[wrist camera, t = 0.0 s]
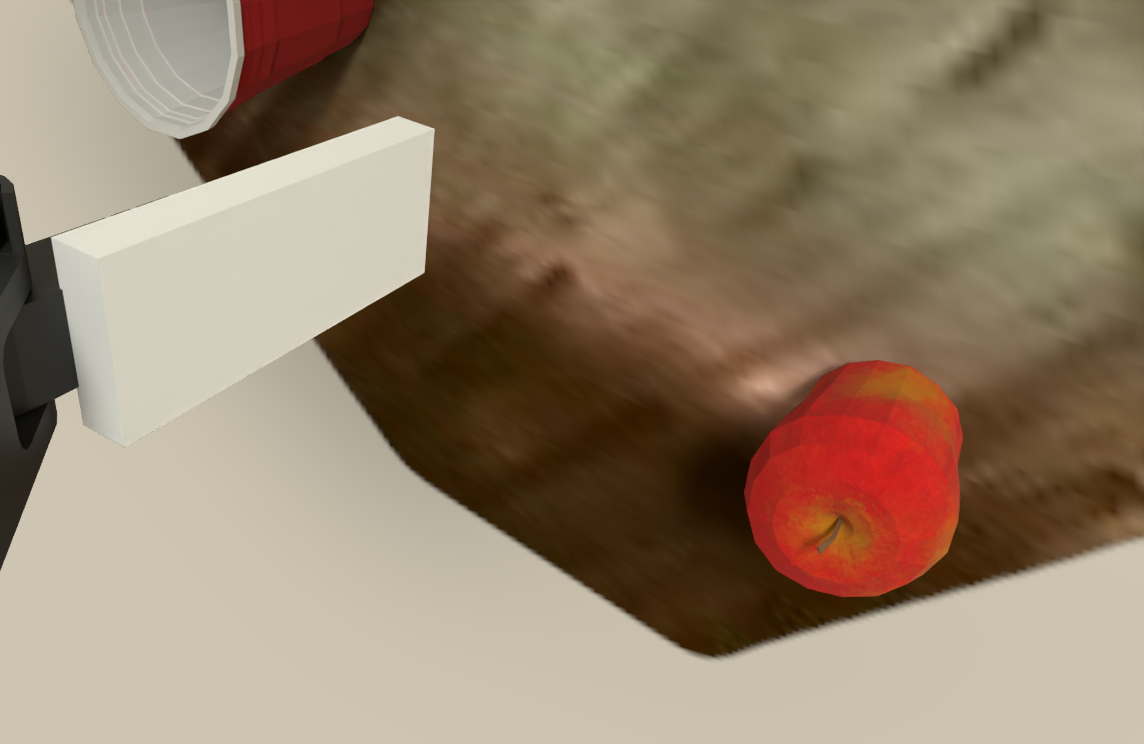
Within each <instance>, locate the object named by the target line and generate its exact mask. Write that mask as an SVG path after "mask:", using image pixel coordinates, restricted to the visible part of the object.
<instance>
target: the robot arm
mask: <svg viewBox="0 0 1144 744" xmlns="http://www.w3.org/2000/svg"><path fill="white" fill-rule="evenodd" d="M434 130H435V129H433V128H430V127H428V126H425V125H422V124H419V123H416V122H413V121H410V120H407V119H404V118H401V117H398V116H397V117H394V118H391V119H389V120H386V121H383V122H380V123H377V124H374V125H371V126H369V127H366V128H363V129H360V130H357V131H354V132H351V133H348V134H346V135H343V136H340V137H337V138H334V139H331V140H328V141H326V142H323V143H320V144H317V145H314V146H311V147H308V148H305V149H303V150H300V151H297V152H294V153H291V154H288V155H285V156H282V157H280V158H277V159H274V160H271V161H268V162H265V163H262V164H260V165H257V166H254V167H251V168H248V169H245V170H242V171H239V172H237V173H234V174H231V175H228V176H225V177H222V178H219V179H217V180H214V181H211V182H208V183H205V184H202V185H199V186H196V187H194V188H191V189H188V190H185V191H182V192H179V193H176V194H173V195H171V196H166V197H163V198H160V199H157V200H155V201H152V202H149V203H146V204H143V205H140V206H137V207H136V208H133V209H129V210H126V211H123V212H120V213H117V214H114V215H112V216H110V217H108V218H103V219H100V220H97V221H94V222H91V223H89V224H85V225H83V226H80V227H77V228H74V229H71V230H68V231H65V232H62V233H60V234H57V235H54V236H51V237H48V238H45V239H42V240H39V241H37V242H34V243H31V244H28V245H25V243H24V237H23V232H22V227H21V222H20V217H19V211H18V207H17V201H16V196H15V191H14V185H13V184H12V183H11V182H10V181H9V180H8V179H7V178H6V177H5V176H2V175H0V569H1V567H2V565H3V562H4V559H5V557H6V554H7V552H8V549H9V547H10V544H11V541H12V539H13V536H14V534H15V531H16V528H17V526H18V523H19V521H20V518H21V515H22V513H23V510H24V508H25V505H26V502H27V500H28V497H29V495H30V492H31V489H32V487H33V484H34V482H35V479H36V476H37V474H38V471H39V469H40V466H41V463H42V460H43V458H44V456H45V453H46V450H47V448H48V445H49V443H50V440H51V437H52V435H53V432H54V430H55V427H56V424H57V410H56V405H55V400H54V399H56V398H57V397H59V396H61V395H63V394H65V393H67V392H69V391H71V390H73V389H75V388H77V390H78V396H79V402H80V408H81V413H82V419H83V425H84V426H86V427H88V428H90V429H92V430H93V431H95V432H97V433H99V434H101V435H103V436H105V437H106V438H108V439H110V440H112V441H114V442H115V443H117V444H119V445H121V446H123V447H124V448H125V447H127V446H129V445H131V444H132V443H134V442H136V441H137V440H139V439H141V438H143V437H144V436H146V435H148V434H149V433H151V432H153V431H154V430H156V429H158V428H160V427H161V426H163V425H164V424H166V423H168V422H170V421H171V420H173V419H175V418H177V417H178V416H180V415H182V414H184V413H185V412H187V411H189V410H190V409H192V408H194V407H195V406H197V405H199V404H201V403H202V402H204V401H206V400H207V399H209V398H211V397H212V396H214V395H216V394H218V393H219V392H221V391H223V390H224V389H226V388H228V387H230V386H231V385H233V384H235V383H236V382H238V381H240V380H242V379H243V378H245V377H247V376H248V375H250V374H252V373H253V372H255V371H257V370H258V369H260V368H262V367H264V366H265V365H267V364H269V363H271V362H272V361H274V360H276V359H277V358H279V357H281V356H282V355H284V354H286V353H288V352H289V351H291V350H293V349H294V348H296V347H298V346H300V345H301V344H303V343H305V342H307V341H308V340H310V339H312V338H313V337H315V336H317V335H318V334H320V333H322V332H324V331H325V330H327V329H329V328H330V327H332V326H334V325H336V324H337V323H339V322H341V321H342V320H344V319H346V318H348V317H349V316H351V315H353V314H354V313H356V312H358V311H359V310H361V309H363V308H365V307H366V306H368V305H370V304H371V303H373V302H375V301H377V300H378V299H380V298H382V297H383V296H385V295H387V294H389V293H390V292H392V291H394V290H395V289H397V288H399V287H400V286H402V285H404V284H406V283H407V282H409V281H411V280H412V279H414V278H416V277H418V276H419V275H421V274H423V273H424V270H425V256H426V242H427V228H428V214H429V200H430V186H431V172H432V158H433V144H434Z"/></svg>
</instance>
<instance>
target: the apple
mask: <svg viewBox="0 0 1144 744" xmlns="http://www.w3.org/2000/svg"><path fill="white" fill-rule="evenodd" d="M962 440H963V435H962V429H961V424H960V419H959V414H958V409H957V408H956V407H955V405H954V404H953V403H952V402H951V401H950V399H949V398H948V397H947V396H946V394H945V393H944V392H943V391H942V390H941V388H940V387H939V386H938V385H937V384H935V383H934V382H933V381H931V380H930V379H928V378H927V377H925V376H924V375H922V374H921V373H920V372H918V371H917V370H915V369H914V368H912V367H911V366H906V365H901V364H895V363H890V362H885V361H880V360H876V361H866V362H856V363H848V364H846V365H843V366H841V367H839V368H837V369H835V370H833V371H831V372H829V373H827V374H825V375H823V376H822V377H821V379H820V380H819V381H818V382H817V384H816V385H815V386H814V388H813V389H812V390H811V392H810V393H809V394H808V396H807V397H806V399H805V400H804V401H803V402H802V403H800V404H799V405H798V406H797V407H796V408H795V409H794V410H792V411H791V412H790V413H789V414H788V415H787V416H786V417H785V418H784V419H783V420H782V421H781V422H780V423H779V424H778V425H777V426H776V427H775V428H774V429H773V430H772V431H771V432H770V433H769V435H768V436H767V438H766V439H765V440H764V442H763V443H762V445H761V446H760V448H759V449H758V451H757V452H756V454H755V455H754V456H753V458H752V459H751V462H750V467H749V472H748V476H747V481H746V486H745V490H744V495H745V501H746V507H747V512H748V516H749V520H750V524H751V528H752V532H753V536H754V540H755V543H756V544H757V545H758V547H759V548H760V549H761V551H762V552H763V553H764V555H765V556H766V557H767V559H768V560H769V561H770V563H771V564H772V565H773V567H774V568H775V569H776V570H777V571H779V572H780V573H782V574H784V575H785V576H787V577H789V578H791V579H792V580H794V581H796V582H797V583H799V584H801V585H803V586H804V587H806V588H808V589H812V590H816V591H820V592H824V593H828V594H832V595H836V596H840V597H861V596H878V595H881V594H883V593H886V592H888V591H891V590H893V589H896V588H898V587H900V586H903V585H905V584H907V583H909V582H911V581H913V580H914V579H916V578H918V577H919V576H921V575H923V574H924V573H925V572H926V571H927V570H929V569H930V568H931V567H932V566H933V565H934V564H935V563H936V562H938V561H939V560H940V559H941V558H942V557H943V556H944V555H945V554H946V553H947V552H948V549H949V546H950V543H951V540H952V537H953V534H954V532H955V529H956V526H957V523H958V517H959V505H960V489H959V477H958V460H959V455H960V450H961V445H962Z"/></svg>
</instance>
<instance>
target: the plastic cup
mask: <svg viewBox="0 0 1144 744" xmlns="http://www.w3.org/2000/svg"><path fill="white" fill-rule="evenodd" d="M73 2H74V8H75V15H76V19H77V22H78V24H79V27H80V30H81V32H82V35H83V38H84V40H85V43H86V45H87V48H88V51H89V53H90V56H91V58H92V61H93V64H94V66H95V67H96V69H97V70H98V72H99V73H100V75H101V76H102V78H103V79H104V81H105V83H106V84H107V86H108V87H109V89H110V90H111V92H112V93H113V95H114V96H115V98H116V99H117V101H118V102H119V104H120V105H121V106H123V107H124V108H125V109H126V110H127V111H128V112H130V113H131V114H132V115H133V116H134V117H135V118H136V119H138V120H139V121H140V122H141V123H142V124H143V125H145V126H146V127H147V128H148V129H150V130H153V131H155V132H159V133H162V134H165V135H168V136H172V137H175V138H178V139H182V138H185V137H188V136H191V135H194V134H197V133H200V132H203V131H206V130H209V129H210V128H212V127H214V126H215V125H216V124H217V122H218V121H219V120H220V118H221V117H222V116H223V115H225V113H226V112H227V111H230V110H232V109H234V108H236V107H237V106H238V105H239V104H241V103H243V102H245V101H248V100H250V99H252V98H253V97H254V95H256V94H258V93H260V92H262V91H264V90H266V89H267V88H269V87H271V86H273V85H275V84H277V83H279V82H281V81H283V80H285V79H287V78H289V77H291V76H293V75H295V74H297V73H299V72H301V71H303V70H305V69H307V68H309V67H311V66H313V65H315V64H317V63H319V62H321V61H322V60H323V59H324V58H325V57H326V56H328V55H330V54H332V53H334V52H336V51H338V50H340V49H342V48H343V47H345V46H347V45H349V44H351V43H352V42H353V41H354V40H355V39H356V38H358V37H359V35H360V34H361V33H362V32H363V31H364V29H365V28H366V27H367V26H368V24H369V21H370V17H371V14H372V10H373V7H374V0H73Z"/></svg>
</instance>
